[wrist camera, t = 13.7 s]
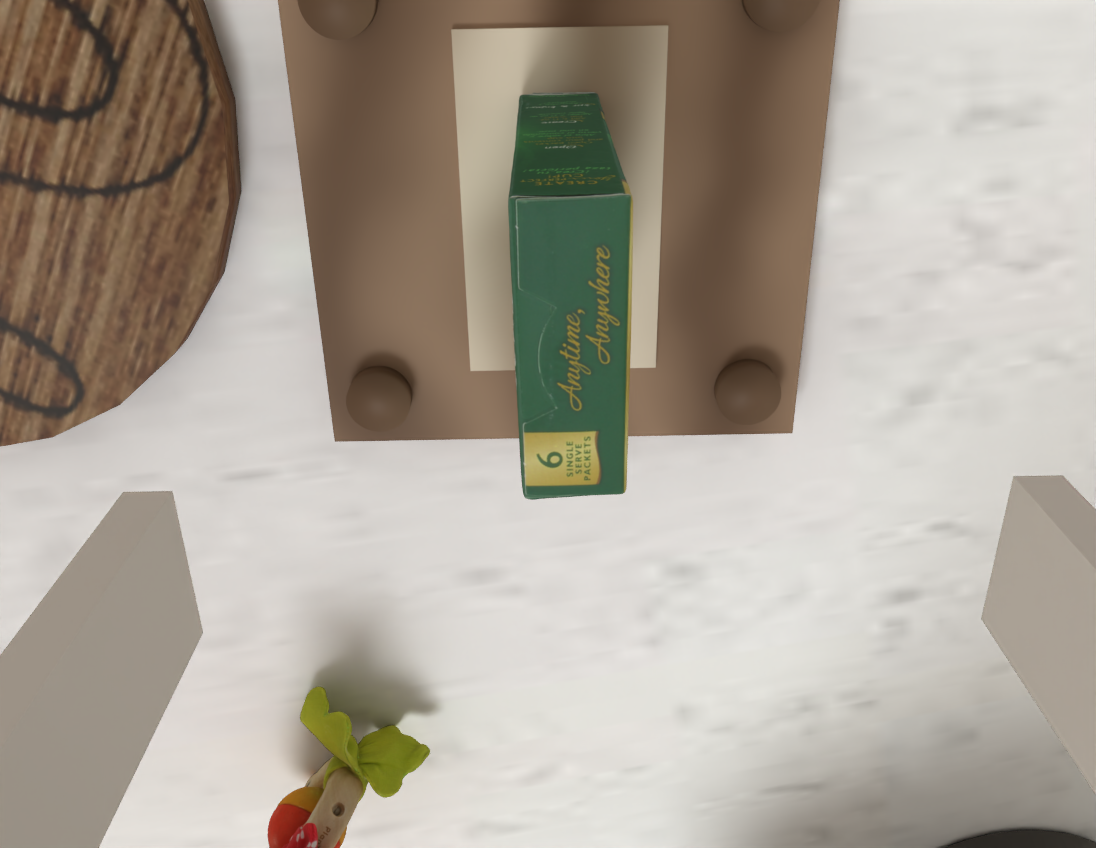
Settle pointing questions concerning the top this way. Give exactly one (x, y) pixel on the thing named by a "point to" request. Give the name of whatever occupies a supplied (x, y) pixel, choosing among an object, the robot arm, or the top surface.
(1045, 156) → the top surface
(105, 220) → the trivet
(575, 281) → the coffee box
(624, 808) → the top surface
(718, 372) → the base plate
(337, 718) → the bird rattle
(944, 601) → the top surface
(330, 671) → the top surface
